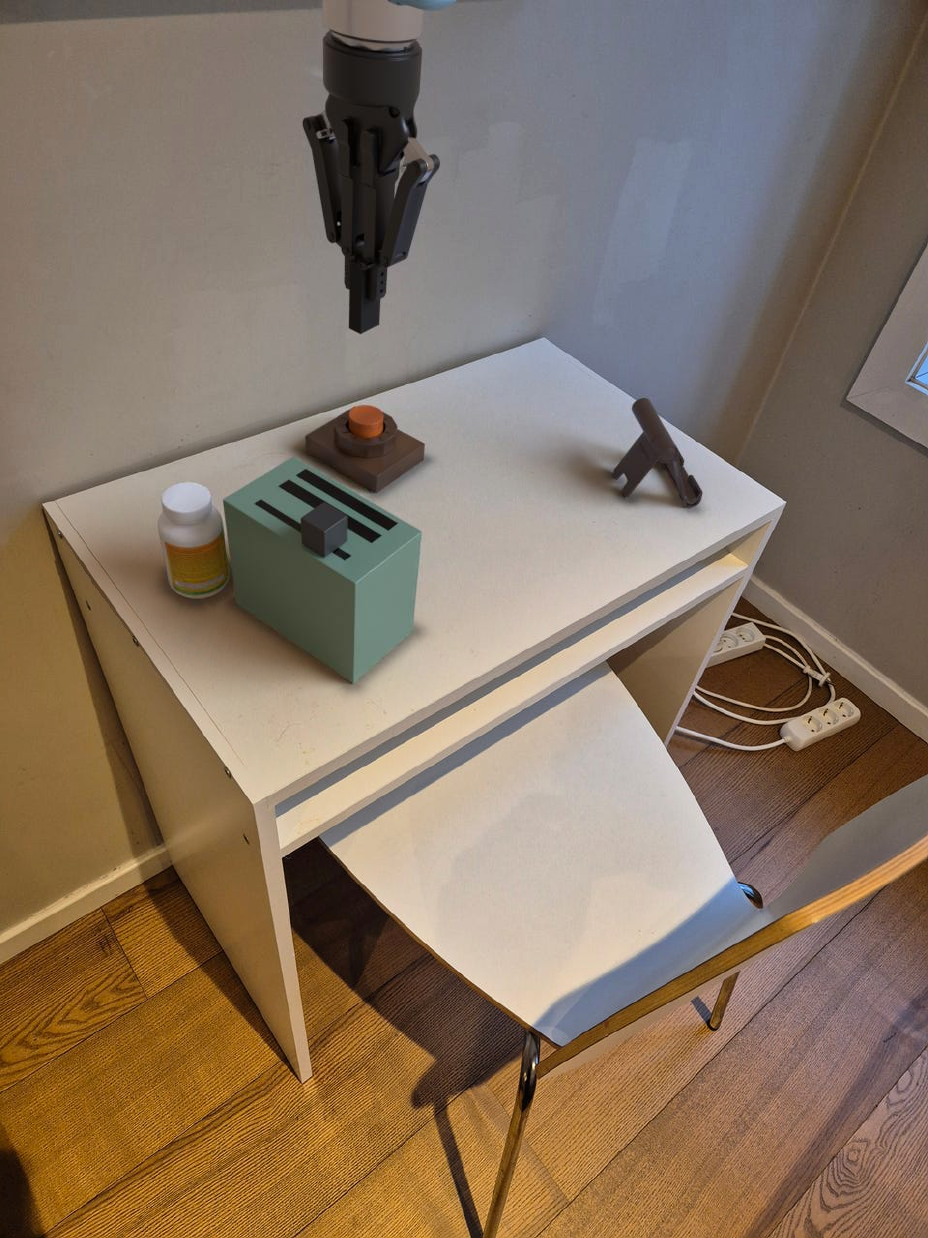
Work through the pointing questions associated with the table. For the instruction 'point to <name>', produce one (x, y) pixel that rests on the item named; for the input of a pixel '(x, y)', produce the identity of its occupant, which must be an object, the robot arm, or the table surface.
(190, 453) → the table surface
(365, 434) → the button
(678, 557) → the table surface
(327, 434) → the button block
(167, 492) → the supplement bottle
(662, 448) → the tablet stand
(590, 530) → the table surface
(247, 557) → the toaster
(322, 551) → the slider
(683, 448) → the table surface
